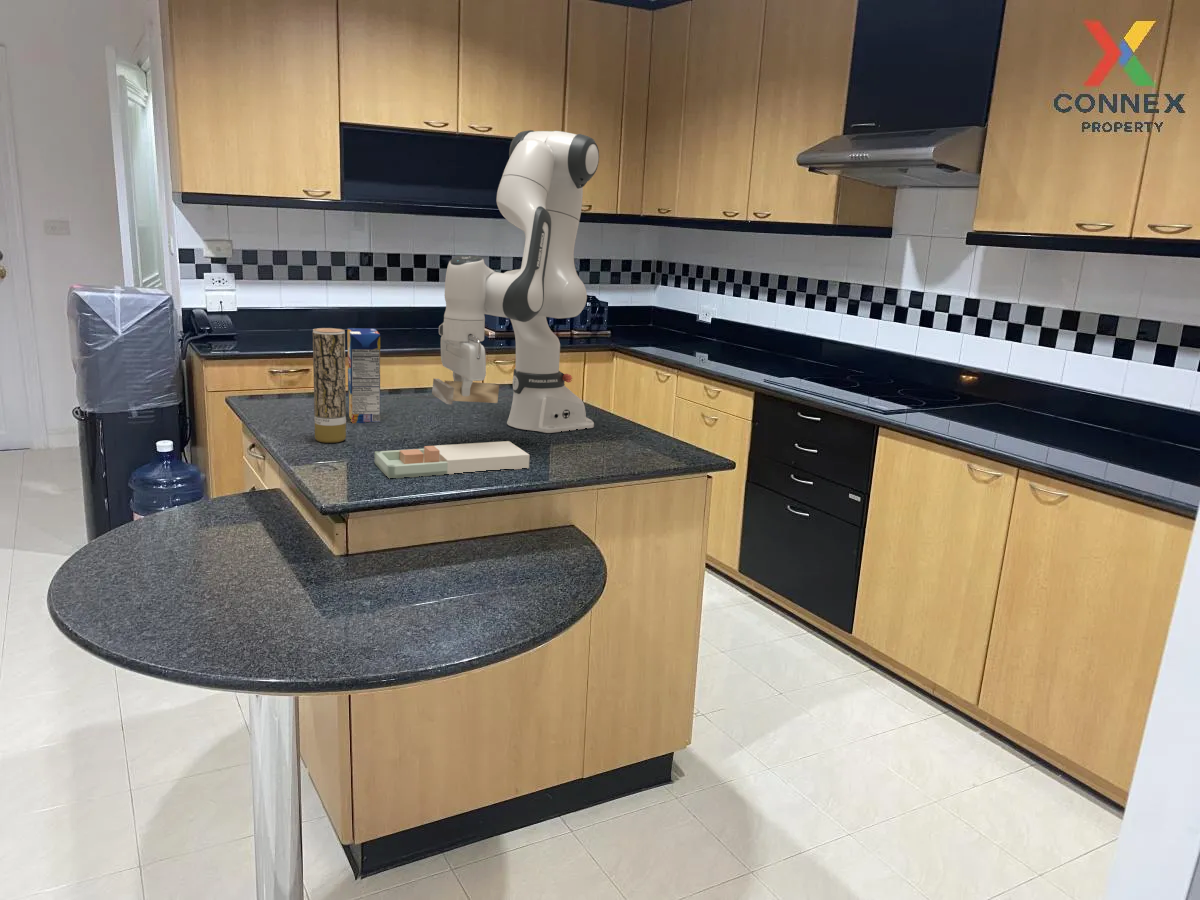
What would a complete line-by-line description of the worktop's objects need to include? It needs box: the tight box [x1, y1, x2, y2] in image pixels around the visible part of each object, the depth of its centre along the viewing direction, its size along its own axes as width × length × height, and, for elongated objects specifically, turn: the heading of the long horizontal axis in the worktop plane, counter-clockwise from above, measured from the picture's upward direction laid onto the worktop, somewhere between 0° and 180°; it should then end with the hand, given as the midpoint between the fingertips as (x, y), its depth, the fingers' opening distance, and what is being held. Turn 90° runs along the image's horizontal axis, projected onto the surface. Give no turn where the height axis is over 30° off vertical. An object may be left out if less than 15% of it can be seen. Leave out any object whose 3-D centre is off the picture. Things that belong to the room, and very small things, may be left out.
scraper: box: [431, 377, 500, 405], centre depth 198 cm, size 13×11×4 cm
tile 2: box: [423, 445, 440, 463], centre depth 182 cm, size 4×4×2 cm
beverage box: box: [346, 327, 381, 424], centre depth 222 cm, size 7×11×22 cm, turn 20°
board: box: [434, 440, 530, 475], centre depth 190 cm, size 18×12×3 cm, turn 117°
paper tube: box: [312, 327, 347, 444], centre depth 199 cm, size 7×7×25 cm
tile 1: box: [399, 448, 424, 464], centre depth 186 cm, size 4×4×2 cm
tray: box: [373, 448, 448, 480], centre depth 183 cm, size 12×12×2 cm
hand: (462, 393), depth 197 cm, fingers closed on scraper, 2 cm apart
